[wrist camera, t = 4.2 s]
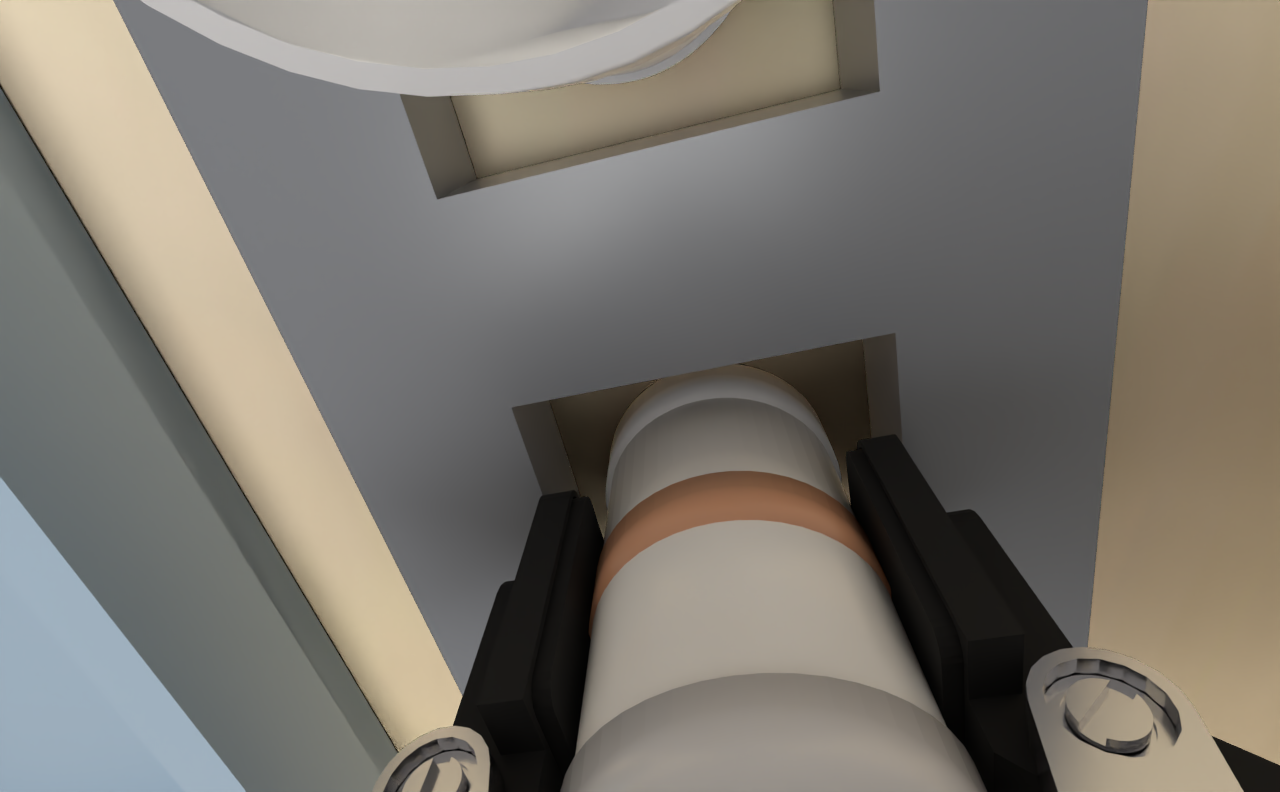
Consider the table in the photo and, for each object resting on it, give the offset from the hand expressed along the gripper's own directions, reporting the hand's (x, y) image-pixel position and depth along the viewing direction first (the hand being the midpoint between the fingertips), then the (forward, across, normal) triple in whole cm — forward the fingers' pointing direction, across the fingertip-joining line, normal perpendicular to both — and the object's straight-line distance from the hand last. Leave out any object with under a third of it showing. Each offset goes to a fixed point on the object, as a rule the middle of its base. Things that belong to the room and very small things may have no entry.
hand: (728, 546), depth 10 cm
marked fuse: (+2, 0, 0) cm, 2 cm away
